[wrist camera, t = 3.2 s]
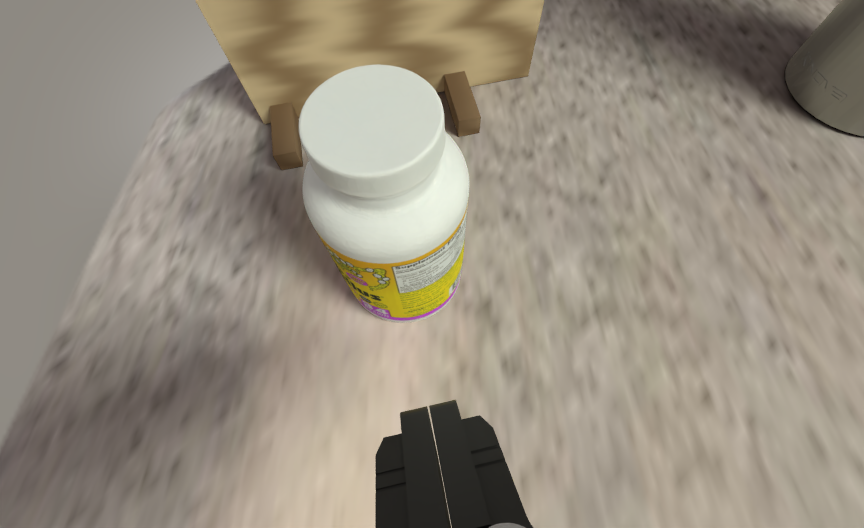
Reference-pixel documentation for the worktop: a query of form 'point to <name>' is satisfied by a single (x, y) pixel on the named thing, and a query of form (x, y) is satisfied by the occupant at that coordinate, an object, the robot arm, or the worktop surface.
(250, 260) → the worktop surface
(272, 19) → the wall board
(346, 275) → the supplement bottle
